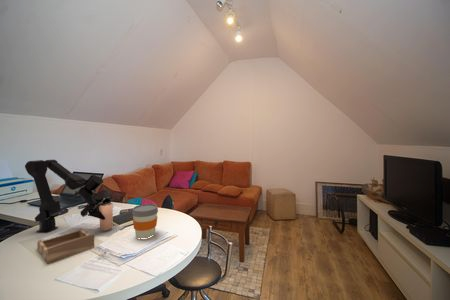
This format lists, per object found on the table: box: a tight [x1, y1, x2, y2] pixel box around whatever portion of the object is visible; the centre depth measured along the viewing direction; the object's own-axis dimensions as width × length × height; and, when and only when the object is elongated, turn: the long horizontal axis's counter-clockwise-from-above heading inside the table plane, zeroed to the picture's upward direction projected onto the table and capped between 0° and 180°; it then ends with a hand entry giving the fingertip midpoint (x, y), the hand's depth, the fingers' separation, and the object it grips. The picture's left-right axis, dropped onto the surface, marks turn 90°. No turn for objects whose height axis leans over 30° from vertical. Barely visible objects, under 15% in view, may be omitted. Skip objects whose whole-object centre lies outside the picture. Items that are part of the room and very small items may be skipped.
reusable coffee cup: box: [131, 203, 159, 239], centre depth 103 cm, size 13×13×15 cm
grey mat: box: [88, 225, 126, 238], centre depth 107 cm, size 13×13×1 cm
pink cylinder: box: [99, 202, 114, 230], centre depth 107 cm, size 6×6×13 cm
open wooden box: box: [36, 228, 95, 265], centre depth 89 cm, size 18×16×7 cm
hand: (108, 217), depth 107 cm, fingers closed on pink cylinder, 6 cm apart
